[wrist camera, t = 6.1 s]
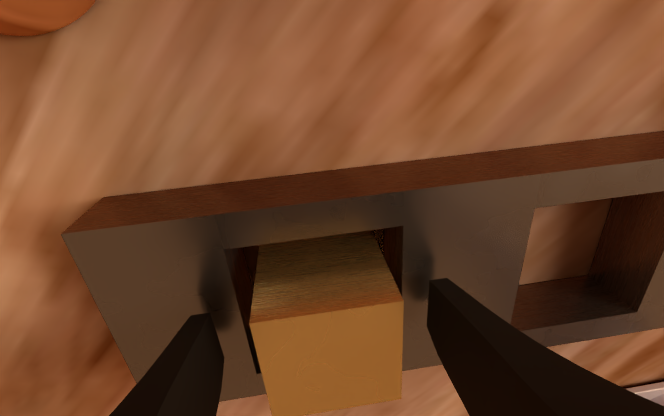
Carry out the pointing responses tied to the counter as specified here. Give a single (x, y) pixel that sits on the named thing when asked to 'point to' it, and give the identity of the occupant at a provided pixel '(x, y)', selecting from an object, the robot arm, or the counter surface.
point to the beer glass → (39, 15)
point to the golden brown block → (327, 324)
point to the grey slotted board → (399, 246)
